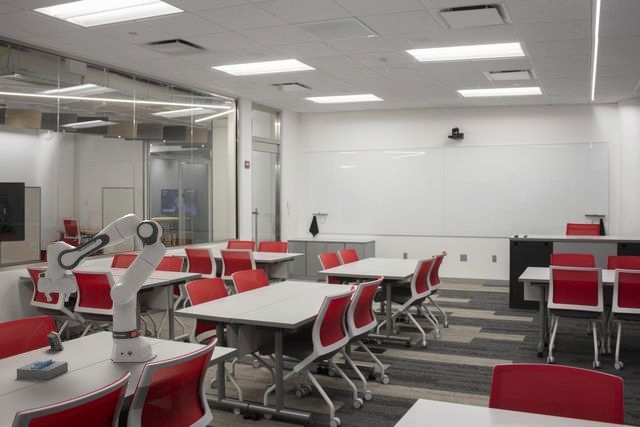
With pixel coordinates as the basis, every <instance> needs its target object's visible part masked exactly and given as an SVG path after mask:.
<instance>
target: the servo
mask: <svg viewBox="0 0 640 427" xmlns="http://www.w3.org/2000/svg"><path fill="white" fill-rule="evenodd" d="M55 361H56V360H53V359H52V358H43V359H38V362H35V361H34V362H35V363H34V366H33V367H31V368H32V369H40V368H41V369H42V368H44V367H46V366H48V365H51V364H52V363H54V362H55Z"/></svg>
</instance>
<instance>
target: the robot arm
mask: <svg viewBox="0 0 640 427" xmlns="http://www.w3.org/2000/svg"><path fill="white" fill-rule="evenodd" d="M134 236H137V237H138V238H139V240H140V241H141V243H143V245H144V247H143V248H142V250H141V251H140V252H139V253H138V255H137V256H136V257H135V258H134V260H133V261H132V262H131V263H130V265H129V266H128V267H127V269H126V270H125V271H124V272H123V273H122V275H121V276H120V277H119V279H118V280H117V281H116V282H115V283H114V285H112V287H111V289H110V298H111V300H112V302H113V311H112V328H113V329H112V337H111V338H112V350H111V355H110V360H112V362H114V363H143V362H148V361H150V360H154V359H155V358H157V356H158V353H157V352H153V349H152V345H151V343H150V342H148V341H147V340H146V339H145V338H144V337H142V336H141V335H140V333H141V332H142V329H140V330H138V328H137V298H138V297H137V293H138V292H140V289H141V288H142V287H143V285H145V283H146V282H147V280H148V279H149V278H150V277H151V275H152V274H153V273H154V271H156V269H157V267H158V266H159V265H160V263H161V262H162V261H163V259H164V257H165V255H166V253H167V248H166V245H164V243H162V242H161V239H162V237H163V236H164V228H163V226H162V225H161V224H160V223H159V222H157V221H155V220H149V219H147V220H141V218H140V217H139V216H138V215H136V214H135V213H129V214H127V215H125V216H122V217H119V218H118V219H115V220H114V221H112V222H110V223H109V224H107V225H106V227H104V228H103V229H102V230H101V231H99V232H98V233H97V234H96V235H94V237H92V238H91V239H89V240H87V241H85V242H84V243H81V244H80V245H78V246H72V245H70V244H69V243H66V242H65V241H62V240H61V241H56V242H51V243H49V244H48V245H47V249H46V261H47V267H46V271H43V272H40V273H38V275H37V278H38V280H37V291H38V292H39V293H44V296H45V297H46V301H47V302H52V301H53V299H52V298H53V297H52V296H51V295H50V294H51V293H61V294H62V293H63V294H65V297H64V298H63V302H64V303H65V302H66V303H68V302H69V298H70V296H71V294H73V293H76V292H77V291H78V285H77V278H76V275H74V274H73V273H67V271H71V270H74V269H76V268H77V267H80V266H82V265H83V264H84V263H85V262H86V260H87V257H88V256H90V255H92V254H94V253H95V252H97V251H99V250H102V249H105V248H108V247H113V246H115V245H118V244H121V243H122V242H123V243H124V241H126V240H128V239H130V238H131V237H134Z"/></svg>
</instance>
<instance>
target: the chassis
mask: <svg viewBox="0 0 640 427" xmlns="http://www.w3.org/2000/svg"><path fill="white" fill-rule="evenodd" d="M38 360H39V359H38ZM38 360H36V361H33V362H30V363H28V364H25V365H23V366H21V367H18V368H16V378H17V379H31V380H47V381H49V380H51V379H53V378H55V377H56V376H59V375H61V374H63V373H65V372H68V371H69V366H68V364H69V363H68V361H56V360H54V361H55V362H54V363H52V364H51V365H48V366H46V367H44V368H42V369H41V368H40V369H32V368H31V367H33V366H34V363H35V362H38Z"/></svg>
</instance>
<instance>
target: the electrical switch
mask: <svg viewBox="0 0 640 427" xmlns="http://www.w3.org/2000/svg"><path fill="white" fill-rule="evenodd" d="M46 338H47V341H48V342H49V346H50V349H52V348H53V349H52V350H54V351H59V350H62V351H63V350H64V349H65V348H64V345H63V342H62V339H61V336H60V334H59V333H57V332H56V331H53V330H51V332H50V333H49V334H47V335H46Z"/></svg>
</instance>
